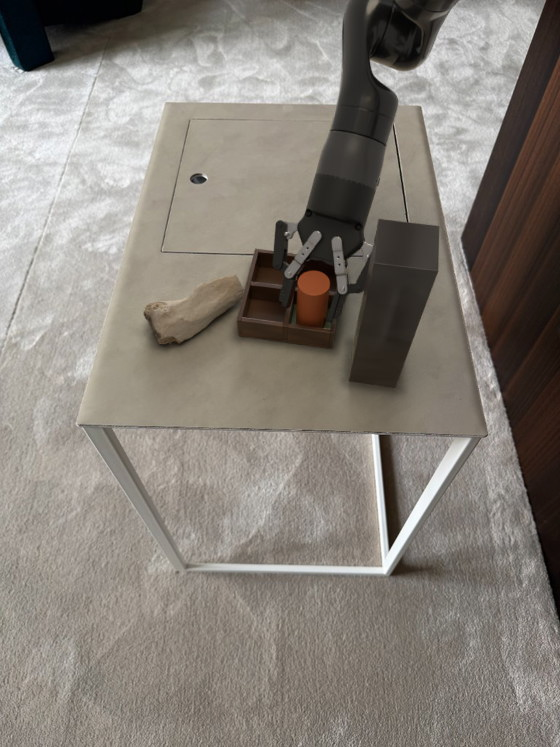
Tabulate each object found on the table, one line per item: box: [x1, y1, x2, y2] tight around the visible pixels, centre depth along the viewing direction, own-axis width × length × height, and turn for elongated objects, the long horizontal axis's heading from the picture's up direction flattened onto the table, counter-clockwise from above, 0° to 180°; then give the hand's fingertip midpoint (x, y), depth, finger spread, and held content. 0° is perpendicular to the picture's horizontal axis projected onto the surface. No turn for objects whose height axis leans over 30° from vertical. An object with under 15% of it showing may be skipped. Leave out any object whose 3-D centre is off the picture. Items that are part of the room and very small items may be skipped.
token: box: [296, 271, 330, 328], centre depth 70 cm, size 4×4×8 cm
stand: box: [348, 218, 440, 388], centre depth 62 cm, size 6×6×22 cm
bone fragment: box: [143, 273, 244, 345], centre depth 73 cm, size 14×6×5 cm, turn 120°
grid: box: [236, 247, 338, 350], centre depth 75 cm, size 13×13×4 cm
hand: (308, 313), depth 69 cm, fingers open, 5 cm apart
